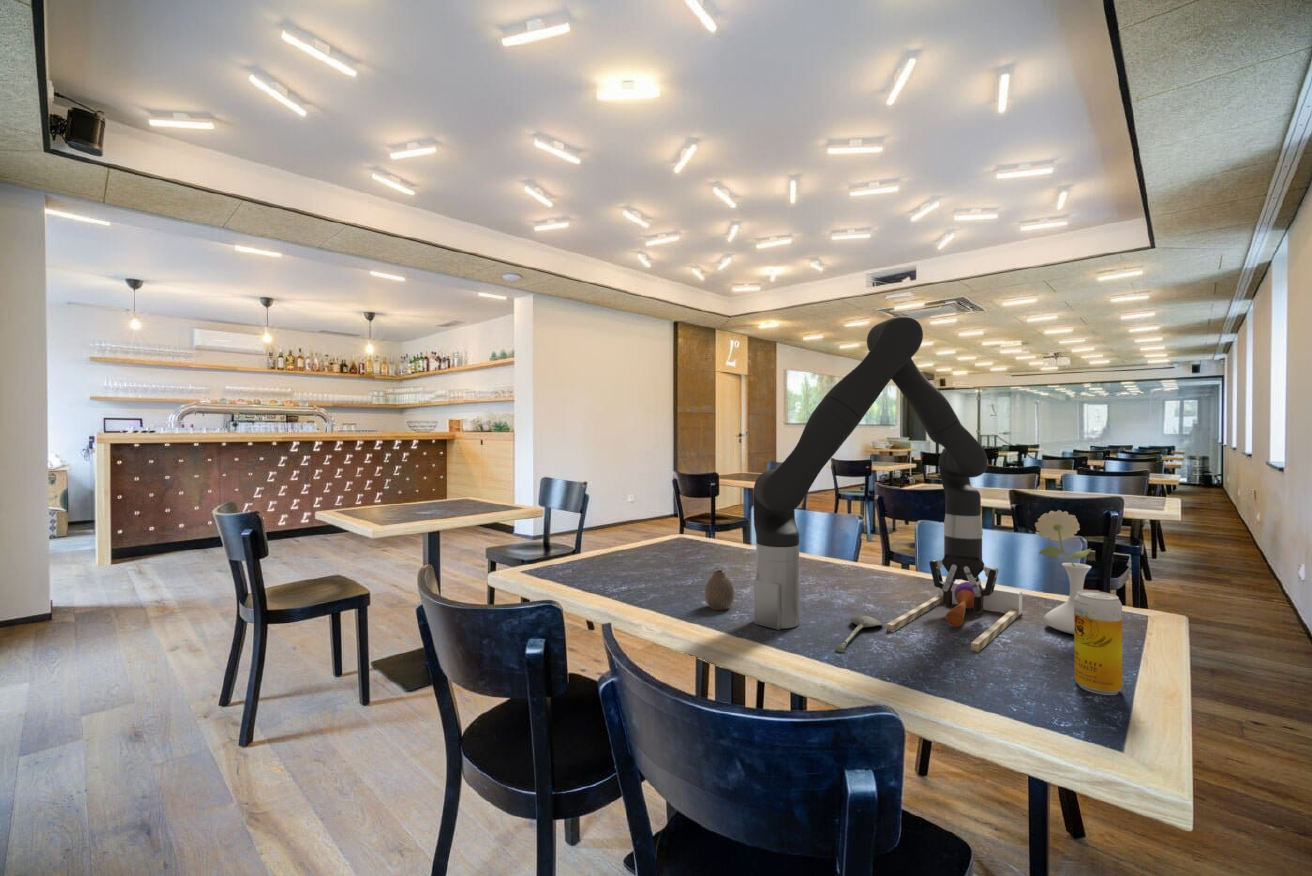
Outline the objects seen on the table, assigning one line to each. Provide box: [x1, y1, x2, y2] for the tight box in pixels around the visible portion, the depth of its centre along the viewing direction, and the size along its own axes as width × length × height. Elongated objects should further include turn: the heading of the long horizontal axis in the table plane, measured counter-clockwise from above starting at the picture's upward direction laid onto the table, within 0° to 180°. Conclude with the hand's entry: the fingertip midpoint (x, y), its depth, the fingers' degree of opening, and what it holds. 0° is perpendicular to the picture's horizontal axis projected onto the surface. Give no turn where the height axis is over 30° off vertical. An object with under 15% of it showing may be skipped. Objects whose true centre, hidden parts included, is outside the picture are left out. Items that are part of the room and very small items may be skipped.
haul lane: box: [886, 594, 1020, 653], centre depth 125 cm, size 31×17×2 cm, turn 136°
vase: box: [704, 569, 735, 611], centre depth 137 cm, size 7×7×9 cm
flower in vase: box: [1034, 509, 1092, 635], centre depth 120 cm, size 13×11×25 cm
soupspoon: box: [835, 615, 884, 653], centre depth 117 cm, size 22×3×7 cm
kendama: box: [945, 581, 984, 628], centre depth 129 cm, size 6×6×20 cm
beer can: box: [1073, 590, 1123, 696], centre depth 92 cm, size 6×6×15 cm
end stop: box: [937, 578, 1023, 616], centre depth 137 cm, size 3×17×5 cm, turn 46°
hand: (963, 609), depth 129 cm, fingers closed on kendama, 5 cm apart
